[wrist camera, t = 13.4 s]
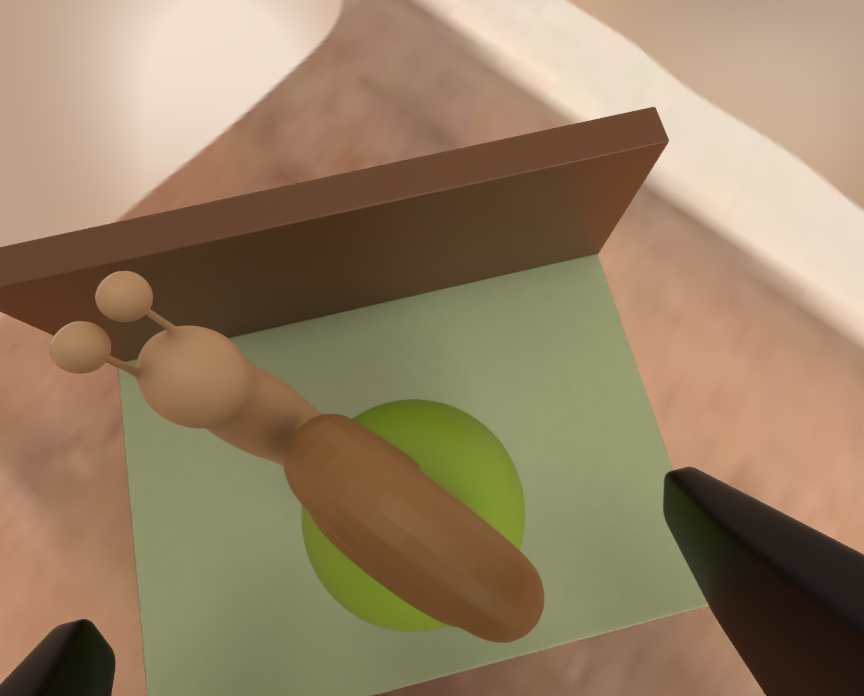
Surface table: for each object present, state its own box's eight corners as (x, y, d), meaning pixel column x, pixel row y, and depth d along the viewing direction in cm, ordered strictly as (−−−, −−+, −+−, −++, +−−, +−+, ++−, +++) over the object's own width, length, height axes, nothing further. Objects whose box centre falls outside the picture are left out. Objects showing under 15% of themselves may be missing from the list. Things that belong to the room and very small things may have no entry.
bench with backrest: (665, 584, 20) (885, 659, 10) (209, 704, 19) (-30, 912, 9) (564, 274, 23) (655, 105, 13) (170, 364, 22) (-39, 254, 12)
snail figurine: (368, 366, 18) (239, 105, 6) (545, 482, 17) (781, 427, 5) (262, 516, 17) (-147, 537, 5) (444, 650, 16) (460, 1067, 4)
